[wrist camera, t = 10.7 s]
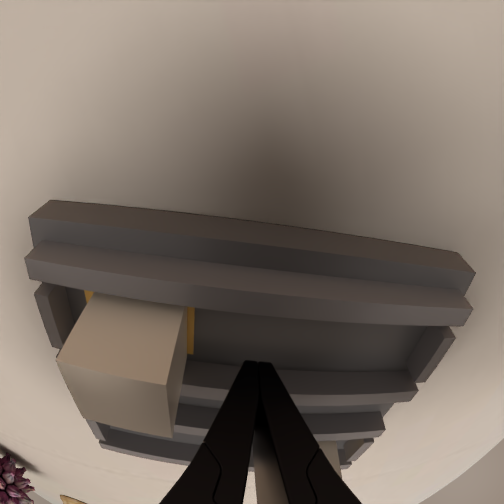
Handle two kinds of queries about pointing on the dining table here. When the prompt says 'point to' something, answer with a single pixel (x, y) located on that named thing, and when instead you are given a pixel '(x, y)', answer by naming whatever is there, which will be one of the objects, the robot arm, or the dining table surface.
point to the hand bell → (69, 500)
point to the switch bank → (258, 312)
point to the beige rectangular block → (127, 363)
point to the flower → (13, 483)
